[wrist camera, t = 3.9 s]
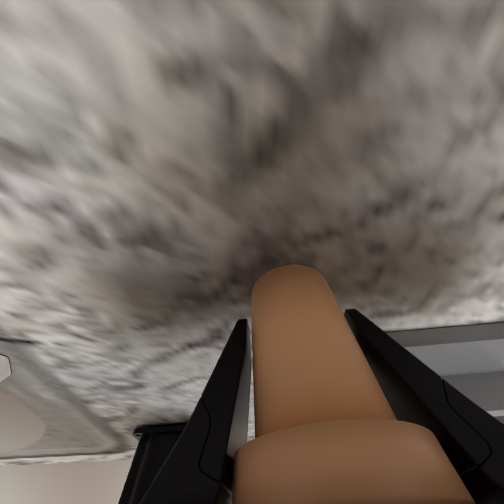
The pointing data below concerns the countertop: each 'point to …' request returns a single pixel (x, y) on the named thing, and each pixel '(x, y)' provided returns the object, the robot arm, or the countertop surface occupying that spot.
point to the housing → (464, 360)
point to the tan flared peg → (327, 411)
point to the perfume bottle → (4, 368)
